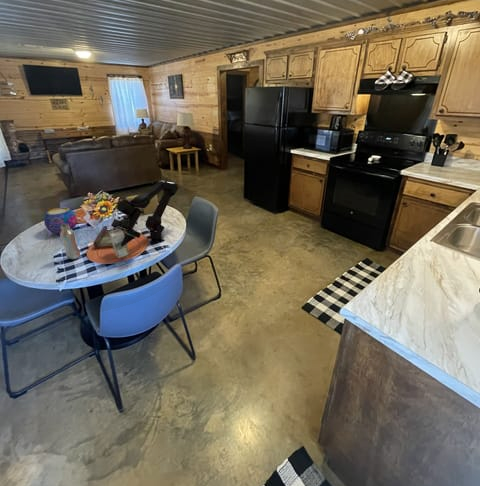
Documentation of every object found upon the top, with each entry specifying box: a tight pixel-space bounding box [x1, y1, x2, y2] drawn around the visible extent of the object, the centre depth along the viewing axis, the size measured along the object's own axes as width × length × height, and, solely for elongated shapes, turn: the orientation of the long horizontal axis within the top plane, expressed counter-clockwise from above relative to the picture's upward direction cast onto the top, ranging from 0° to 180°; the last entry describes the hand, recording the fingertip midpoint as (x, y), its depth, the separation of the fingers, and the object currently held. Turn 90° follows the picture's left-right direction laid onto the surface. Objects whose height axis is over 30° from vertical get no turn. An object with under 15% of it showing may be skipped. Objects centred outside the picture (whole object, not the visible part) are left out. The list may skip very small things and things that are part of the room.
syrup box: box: [109, 229, 130, 259], centre depth 139 cm, size 6×6×14 cm
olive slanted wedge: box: [92, 225, 128, 250], centre depth 162 cm, size 16×22×4 cm
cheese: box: [125, 194, 159, 216], centre depth 195 cm, size 22×10×15 cm, turn 120°
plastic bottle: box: [59, 224, 81, 261], centre depth 140 cm, size 6×7×20 cm
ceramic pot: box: [43, 206, 78, 235], centre depth 169 cm, size 18×18×15 cm
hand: (117, 244), depth 138 cm, fingers closed on syrup box, 7 cm apart
